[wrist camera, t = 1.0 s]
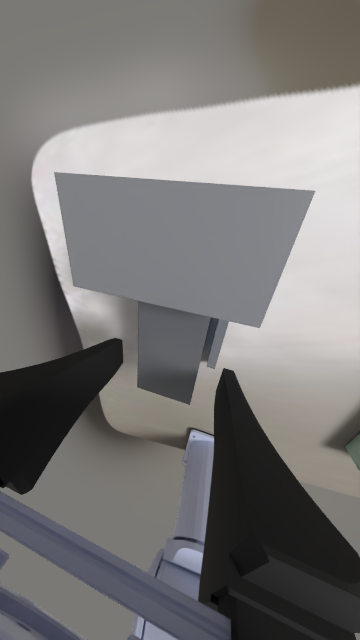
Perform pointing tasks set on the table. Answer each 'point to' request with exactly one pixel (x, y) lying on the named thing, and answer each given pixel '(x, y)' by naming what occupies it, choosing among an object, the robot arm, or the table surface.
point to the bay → (181, 243)
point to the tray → (354, 450)
